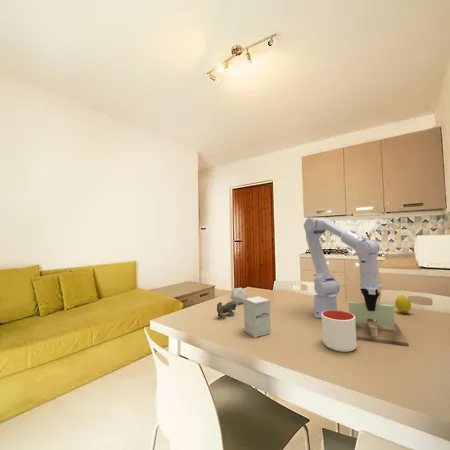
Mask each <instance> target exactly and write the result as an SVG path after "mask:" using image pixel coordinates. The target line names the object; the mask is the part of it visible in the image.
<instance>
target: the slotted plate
mask: <svg viewBox="0 0 450 450" xmlns="http://www.w3.org/2000/svg"><path fill="white" fill-rule="evenodd" d="M348 313H351V314H353V315H354V316H355V322H356V323H366V319H374V321H376V324H377V325H385V326H395V324H394V323H395V312H394V305H393V304H386V303H376V307H375V311H368V309H367V306H366V303H365V302H358V301H357V302H356V301H348Z"/></svg>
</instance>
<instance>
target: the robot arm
mask: <svg viewBox="0 0 450 450" xmlns="http://www.w3.org/2000/svg"><path fill="white" fill-rule="evenodd" d="M303 228H304V232H305V240H306V243H307V246H308V251H309V252H310V256H311V260H312V263H313V267H314V270H315V273H316V276H315V277H314V279H313V283H314V286H313V288H314V292H315V293H316V294H314V295H313V312H314V314H313V315H314V318H318V319H319V318H320V319H322V316H321V314H322V312H324V311H328V310H338V302H337V301H338V300H337V296H338V293H339V292H340V290H341V285H340V283H339V281H338V280H337V279H336V276H335V275H334V274H333V273H332V272H330V270H329V265H328V263H327V260H326V256H325V254H324V250H323V247H322V244H321V240H320V238H321V236H323V235H324V233H326V232H327V231H328V232H330V233H331V234H333V235H335V236H337V237H339V238H340V239H341V242H342V243H344V245H346V246H348V247H350V248H352V249H353V250H354V252H355V254H356V255H357V259H358V264H359V265H358V266H359V281H360V282H359V287H361V288H360V292H361V294H362V296H363V299H364V303H366V306H367V309H368V311H375V307H376V304H377V302H378V298H379V297H380V294H381V293H380V292H379V290H378V289H379V288H380V289H381V288H383V285H382V284H379V277H378V273H379V272H378V260H377V258H378V256H377V254H379V252H380V244H379V243H378V242H377V241H376V240H375V239H367V236H362V235H360V234H358V233H357V231H356V230H355V229H350V230H348V229H347V230H345V229H344V228H342V227H341V226H339V225H337V223H335V222H333V221H331V219H329V218H327V217H323V216H322V217H311V216H310V217H307V218H306V219H305V222H304V223H303Z"/></svg>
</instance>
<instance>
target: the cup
mask: <svg viewBox="0 0 450 450" xmlns="http://www.w3.org/2000/svg"><path fill="white" fill-rule="evenodd" d="M321 316H322V318H321V332H322V333H321V334H322V342H323V344H324V345H325V346H326V347H327V348H329V349H330V350H333V351H337V352H341V353H342V352H343V353H345V352H347V353H348V352H351V351H354V350H355V349H356V348H357V343H358V342H357V339H356V323H355V316H354V315H353V314H351V313H349V311H345V310H338V309H337V310H328V311H324V312H322V314H321Z"/></svg>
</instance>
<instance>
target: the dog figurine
mask: <svg viewBox="0 0 450 450" xmlns="http://www.w3.org/2000/svg"><path fill="white" fill-rule="evenodd" d="M237 305H238V304H237V303H236V302H234V301H229V302H227V303H225V304H223V303H222V302H221V301H220V302H218V303H217V304H216V311H217V317H220V316H221V318H222V319H223V320H224V319H226V320H227V318H226V317H225V316H224V315H223V314H227V316H229V317H235V316H234V315H235V310H236V308H237Z"/></svg>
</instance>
